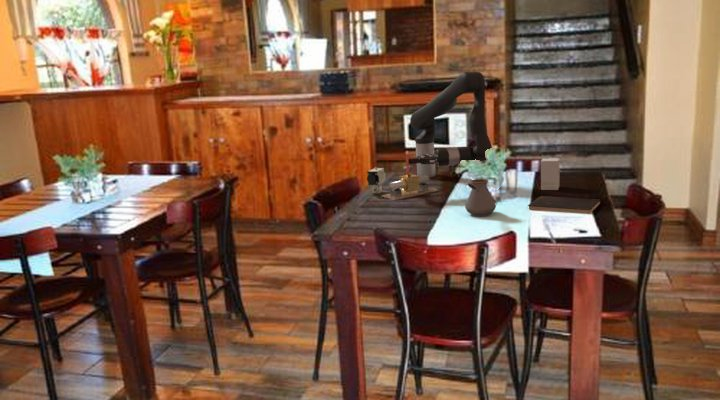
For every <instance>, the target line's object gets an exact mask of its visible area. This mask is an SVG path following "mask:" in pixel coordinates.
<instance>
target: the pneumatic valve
mask: <svg viewBox="0 0 720 400" xmlns="http://www.w3.org/2000/svg"><path fill="white" fill-rule="evenodd" d="M366 173H367V176H366V181H367V184H368V186H372V193H374V194H378V195H379V193H380V194H382V193H383V188H382V187H383V185H382V183H385V182H386V180H387V172H386V169H385V167H376V166H375V167H374V168H372V169H369V170H367V172H366Z"/></svg>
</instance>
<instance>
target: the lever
mask: <svg viewBox="0 0 720 400" xmlns="http://www.w3.org/2000/svg"><path fill="white" fill-rule="evenodd" d="M409 159H410V155H409V150H405V164H406V166H403V171H404V172H406V171H407V172H406V175H410V171H411V172H412V171H413V170H414V168H413V165H410V164H409Z"/></svg>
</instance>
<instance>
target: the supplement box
mask: <svg viewBox="0 0 720 400" xmlns="http://www.w3.org/2000/svg"><path fill="white" fill-rule="evenodd" d="M560 176H561V175H560V158H559V157H558V158H557V157H555V158H554V157H553V158H551V157H550V158H549V157H548V158H542V159H541V160H540V190H542V191H548V190H549V191H559V188H560Z"/></svg>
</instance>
